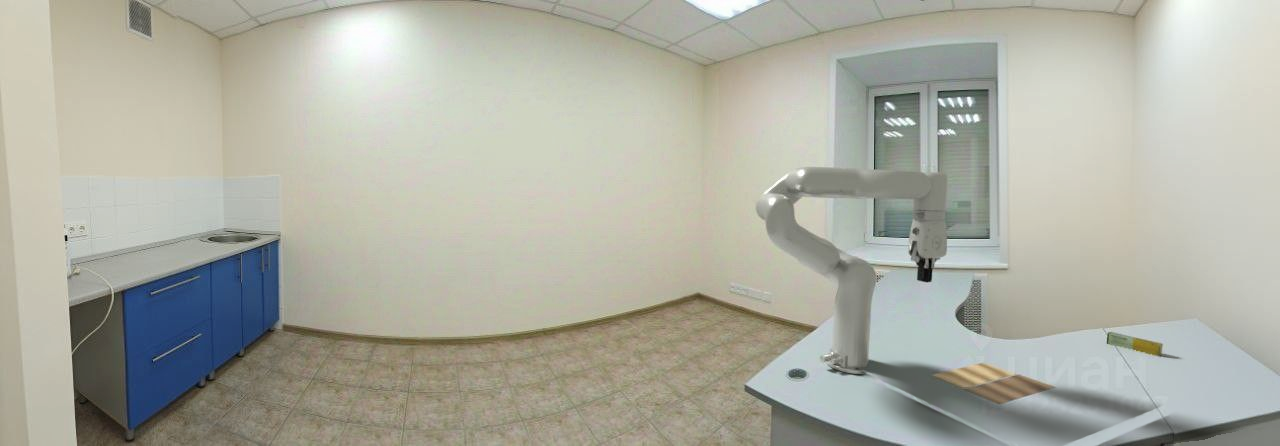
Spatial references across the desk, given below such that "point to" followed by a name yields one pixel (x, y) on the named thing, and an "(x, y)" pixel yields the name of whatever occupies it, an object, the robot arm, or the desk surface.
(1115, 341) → the medication box
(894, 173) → the robot arm
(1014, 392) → the walnut board
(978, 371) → the oak plank
